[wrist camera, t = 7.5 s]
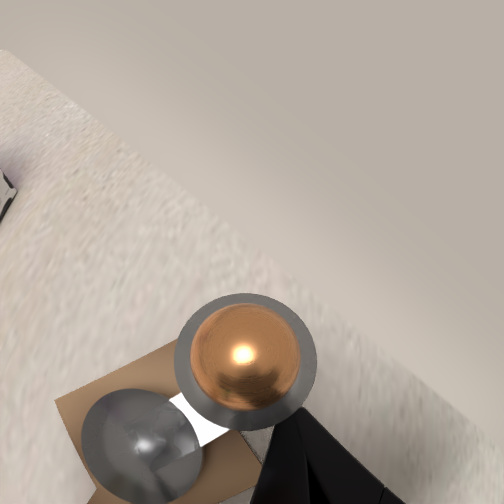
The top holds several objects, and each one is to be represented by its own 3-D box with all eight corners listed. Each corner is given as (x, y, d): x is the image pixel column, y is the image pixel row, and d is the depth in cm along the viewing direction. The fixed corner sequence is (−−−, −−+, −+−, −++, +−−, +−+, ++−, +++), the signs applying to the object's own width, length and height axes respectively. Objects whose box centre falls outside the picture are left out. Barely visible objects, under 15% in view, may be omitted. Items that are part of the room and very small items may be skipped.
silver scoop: (134, 512, 11) (2, 601, 1) (76, 419, 13) (-98, 392, 3) (302, 418, 14) (423, 433, 4) (234, 326, 16) (218, 177, 6)
